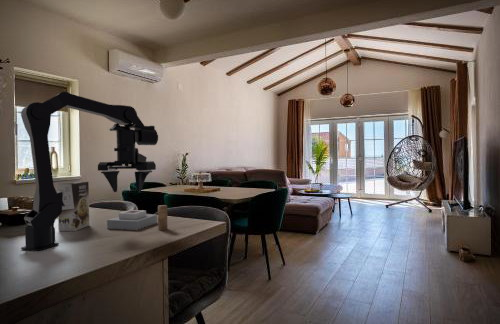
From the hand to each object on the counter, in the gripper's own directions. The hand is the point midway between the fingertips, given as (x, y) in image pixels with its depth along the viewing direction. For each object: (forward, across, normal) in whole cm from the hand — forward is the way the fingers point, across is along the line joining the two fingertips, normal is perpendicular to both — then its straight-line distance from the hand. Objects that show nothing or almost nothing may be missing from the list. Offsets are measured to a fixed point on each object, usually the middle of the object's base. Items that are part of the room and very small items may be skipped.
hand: (127, 192), depth 108 cm
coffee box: (+13, +22, 0) cm, 26 cm away
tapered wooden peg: (+13, -10, -5) cm, 17 cm away
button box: (+13, +4, -8) cm, 16 cm away
